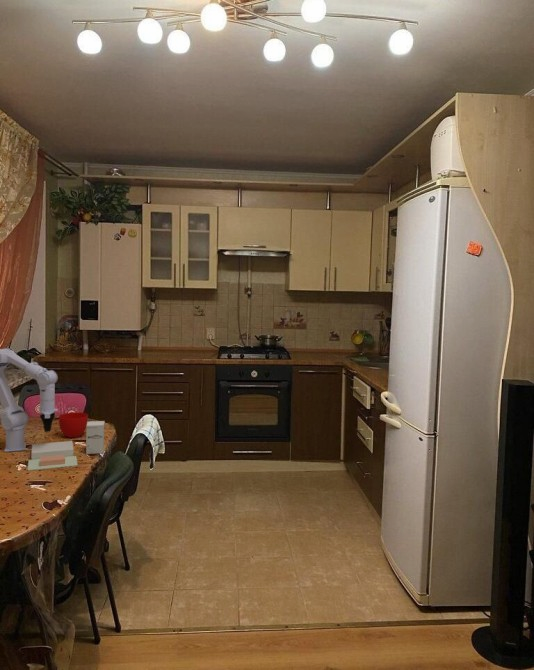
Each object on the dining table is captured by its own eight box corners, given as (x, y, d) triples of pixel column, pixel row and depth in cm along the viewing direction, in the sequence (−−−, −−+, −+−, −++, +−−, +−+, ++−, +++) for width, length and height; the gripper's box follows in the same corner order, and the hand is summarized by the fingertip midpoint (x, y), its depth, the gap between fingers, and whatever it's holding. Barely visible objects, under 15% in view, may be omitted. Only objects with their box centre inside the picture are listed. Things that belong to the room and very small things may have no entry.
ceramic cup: (95, 431, 252) (95, 411, 251) (80, 440, 235) (80, 419, 234) (70, 429, 253) (70, 409, 252) (53, 439, 236) (53, 418, 236)
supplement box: (85, 454, 216) (85, 425, 215) (87, 449, 223) (87, 421, 222) (103, 453, 218) (104, 424, 217) (104, 448, 225) (104, 420, 224)
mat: (28, 461, 205) (28, 460, 205) (76, 456, 212) (76, 455, 212) (27, 470, 194) (27, 469, 194) (77, 465, 201) (77, 465, 201)
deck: (32, 450, 218) (32, 444, 218) (72, 447, 224) (72, 440, 224) (31, 460, 206) (31, 453, 206) (73, 456, 213) (73, 449, 212)
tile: (40, 461, 198) (40, 466, 199) (65, 459, 202) (65, 464, 202) (40, 456, 204) (40, 461, 204) (64, 454, 207) (64, 459, 208)
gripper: (57, 402, 210) (58, 434, 211) (57, 395, 223) (57, 426, 224) (39, 403, 207) (39, 436, 208) (39, 396, 220) (40, 427, 221)
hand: (47, 431), depth 216 cm, fingers closed
